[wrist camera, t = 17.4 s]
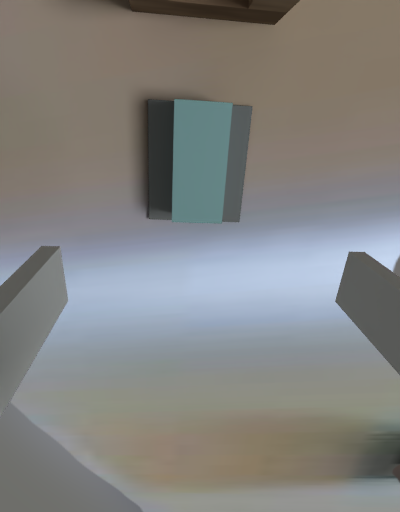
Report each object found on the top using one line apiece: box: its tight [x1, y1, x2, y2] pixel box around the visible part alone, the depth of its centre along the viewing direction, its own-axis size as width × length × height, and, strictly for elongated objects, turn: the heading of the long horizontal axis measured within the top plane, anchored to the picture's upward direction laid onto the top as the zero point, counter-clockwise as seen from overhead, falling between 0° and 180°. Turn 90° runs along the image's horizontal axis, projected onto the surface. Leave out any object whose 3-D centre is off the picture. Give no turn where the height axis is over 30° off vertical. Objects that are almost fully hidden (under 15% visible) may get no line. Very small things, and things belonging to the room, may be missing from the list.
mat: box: [148, 99, 252, 222], centre depth 38 cm, size 14×12×1 cm
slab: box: [172, 99, 233, 224], centre depth 36 cm, size 13×6×4 cm, turn 177°
